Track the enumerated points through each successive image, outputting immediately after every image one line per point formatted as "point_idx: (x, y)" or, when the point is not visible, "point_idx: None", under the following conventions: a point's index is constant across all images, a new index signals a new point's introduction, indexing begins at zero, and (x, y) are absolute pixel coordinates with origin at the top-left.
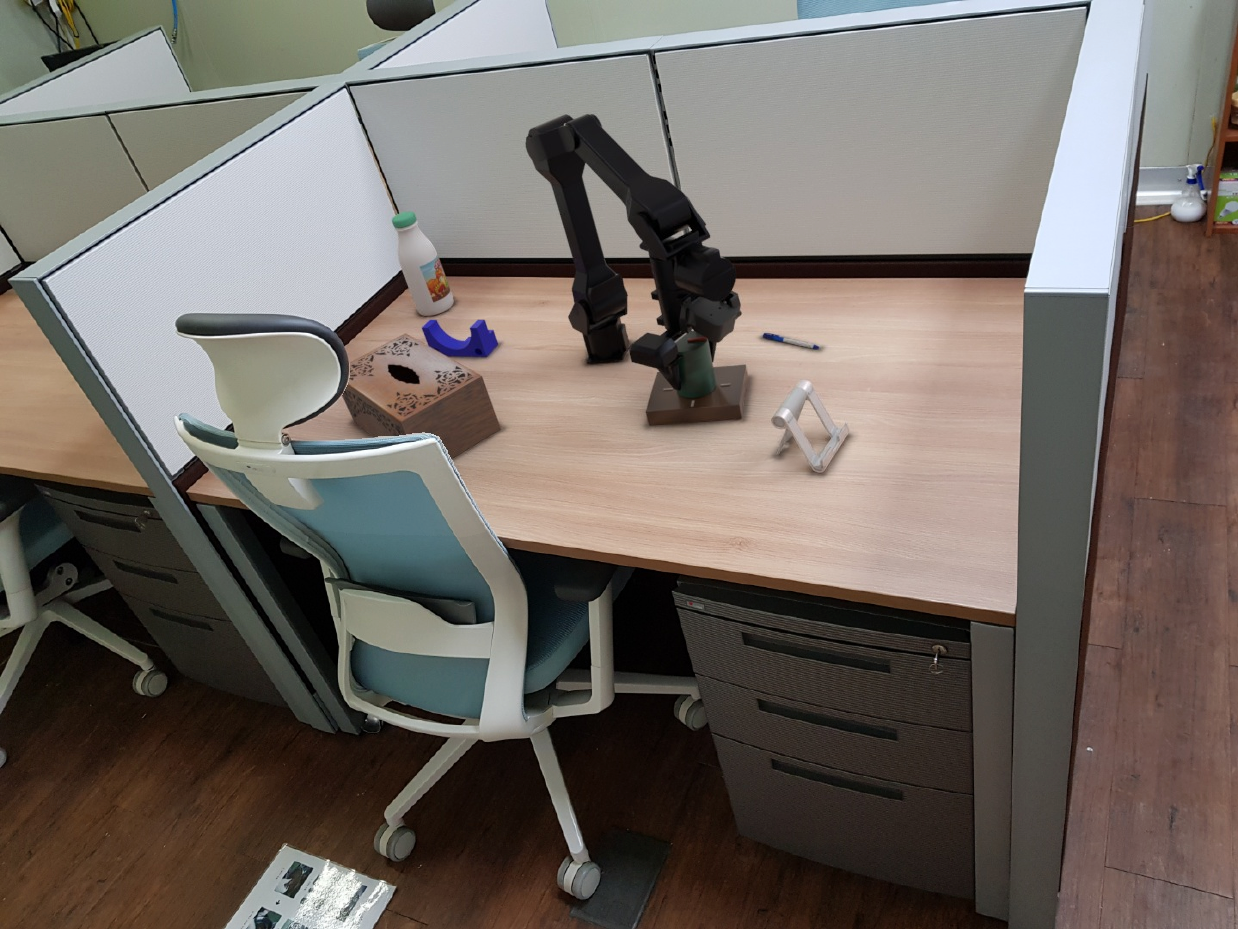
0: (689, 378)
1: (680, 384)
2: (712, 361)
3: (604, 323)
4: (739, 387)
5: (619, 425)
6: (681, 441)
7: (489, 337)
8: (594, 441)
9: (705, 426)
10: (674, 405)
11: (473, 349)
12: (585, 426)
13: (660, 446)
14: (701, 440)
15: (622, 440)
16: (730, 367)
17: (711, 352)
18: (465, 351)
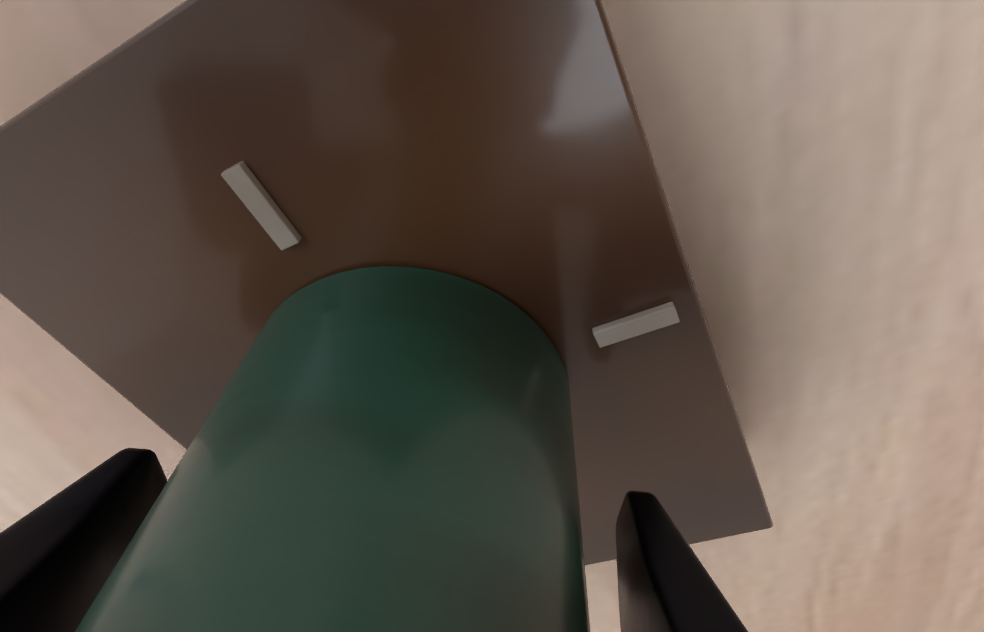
0: (572, 531)
1: (656, 542)
2: (130, 459)
3: None
4: (209, 34)
5: (752, 538)
6: (927, 195)
7: None
8: (892, 566)
9: (708, 121)
10: (679, 423)
11: None
12: (771, 619)
13: (980, 297)
14: (925, 40)
15: (890, 486)
16: (39, 299)
17: (56, 556)
18: None
